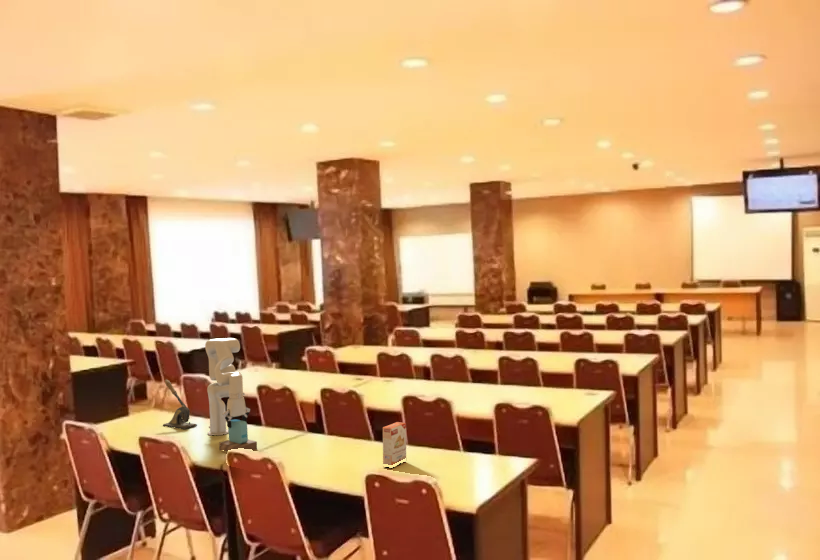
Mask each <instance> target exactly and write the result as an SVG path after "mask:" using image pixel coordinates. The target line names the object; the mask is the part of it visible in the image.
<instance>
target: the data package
mask: <svg viewBox="0 0 820 560" xmlns="http://www.w3.org/2000/svg"><path fill="white" fill-rule="evenodd" d="M230 421H231V425H232V427H231V428H228V427H227V430H228V432H229V433H228V440H230V441H231V442H235V443H238V444H242V443H245V442H247V441H248V439H249V437H248V436H249V435H248V423H247V422H246V421H242V419H241V420H240V419H235V418H234V419H231V420H230Z"/></svg>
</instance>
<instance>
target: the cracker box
mask: <svg viewBox="0 0 820 560" xmlns="http://www.w3.org/2000/svg"><path fill="white" fill-rule="evenodd" d="M405 458H406V459H407V423H406V422H399V421H396V422H394V423H391V424H389V425H386V426H383V427H382V462H383V463H382V465H383V464H388V465H393V464H395V463H397V462H399V461H401V460H403V459H405Z"/></svg>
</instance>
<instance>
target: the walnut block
mask: <svg viewBox="0 0 820 560" xmlns="http://www.w3.org/2000/svg"><path fill="white" fill-rule="evenodd" d="M218 445H219V446H218V447H219V451H221V450H224V451H228V450H231V449H238V448H244V449H252V450H253V451H256V450H258V446H257V445H258V441H256V440H251V439H249V438H248V441H247V442H245V443H242V444H238V443H235V442H231V441H230V440H229V439H228V440H225V441H224V440H223V441H220V442H219V444H218ZM224 451H223V452H224Z"/></svg>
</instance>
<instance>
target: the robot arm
mask: <svg viewBox="0 0 820 560" xmlns="http://www.w3.org/2000/svg"><path fill="white" fill-rule="evenodd" d="M204 347H205V348H204V349H205V352H206V354H207V357H208V373H209V379H210V380H211V381H215V382H213V383H210V384H209V385H207V389H206V391H207V395H208V396H207V397H208V404H209V407H208V408H209V426H208V429H209V430H208V431H207V435H208V436H212V435H217V436H223V434H224V435H227V434H229V432H228V428H231V427H232V425H231V421H230V420H233V418H235V417H240V416H242V417H241V420H242V421H246V423H247V421H248V419H247V418H248V416H249V415H250V412H251V408H249V407H247V406H246V401H245V397H244V396H245V394H246V393H245V392H244V391H243V390H244V387H243V386H244V384H243V383H244V382H243V379H244V378H243V375H242V372H241V371H236V367H235V366H234V364H233V362H234V359H235V357H234V355H233V353H238V352H239V351H240V349H241V344H240V342H239V340H238V339H237V338H234V337H227V338H226V337H225V338H224V337H223V338H212V339H208V340H207V341H206V342H205V345H204ZM222 398H228V399H227V403H226V404H225V402H224V401H223V400H222Z"/></svg>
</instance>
